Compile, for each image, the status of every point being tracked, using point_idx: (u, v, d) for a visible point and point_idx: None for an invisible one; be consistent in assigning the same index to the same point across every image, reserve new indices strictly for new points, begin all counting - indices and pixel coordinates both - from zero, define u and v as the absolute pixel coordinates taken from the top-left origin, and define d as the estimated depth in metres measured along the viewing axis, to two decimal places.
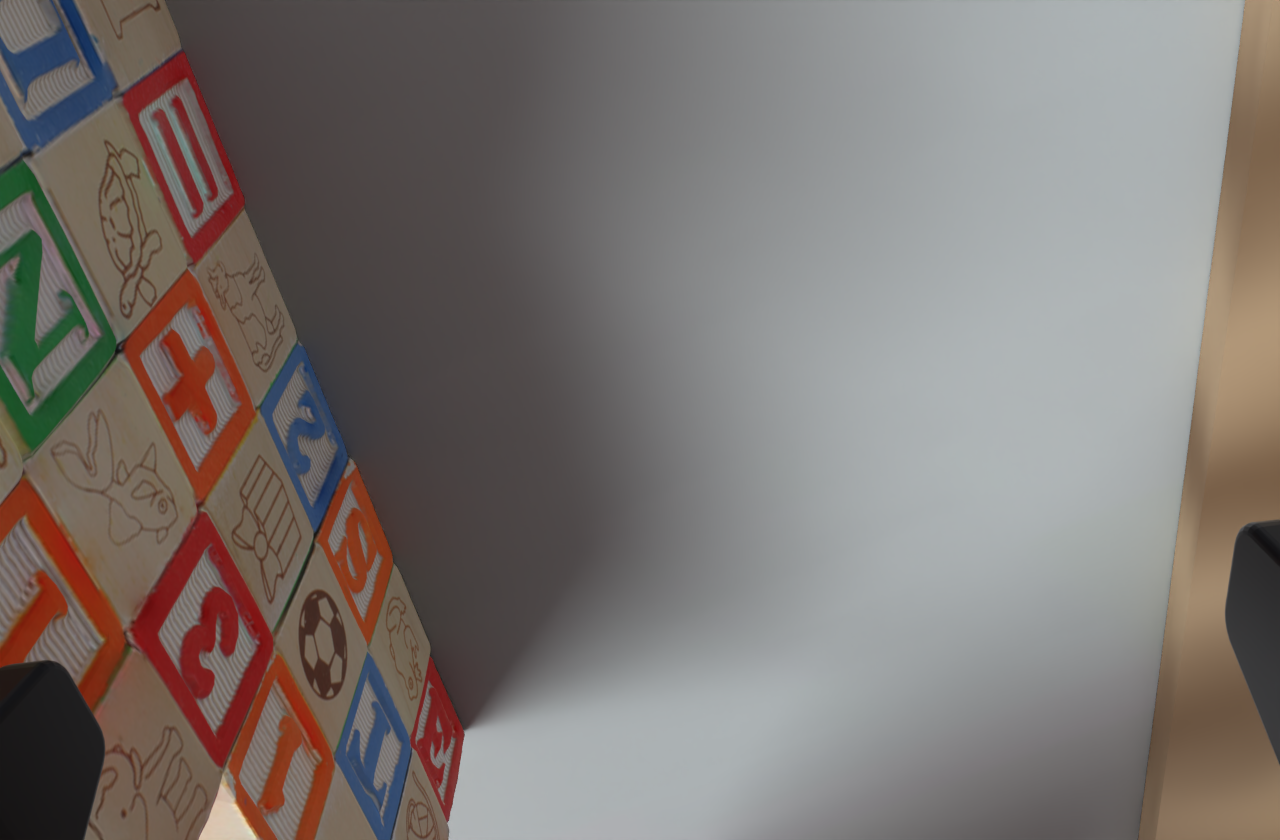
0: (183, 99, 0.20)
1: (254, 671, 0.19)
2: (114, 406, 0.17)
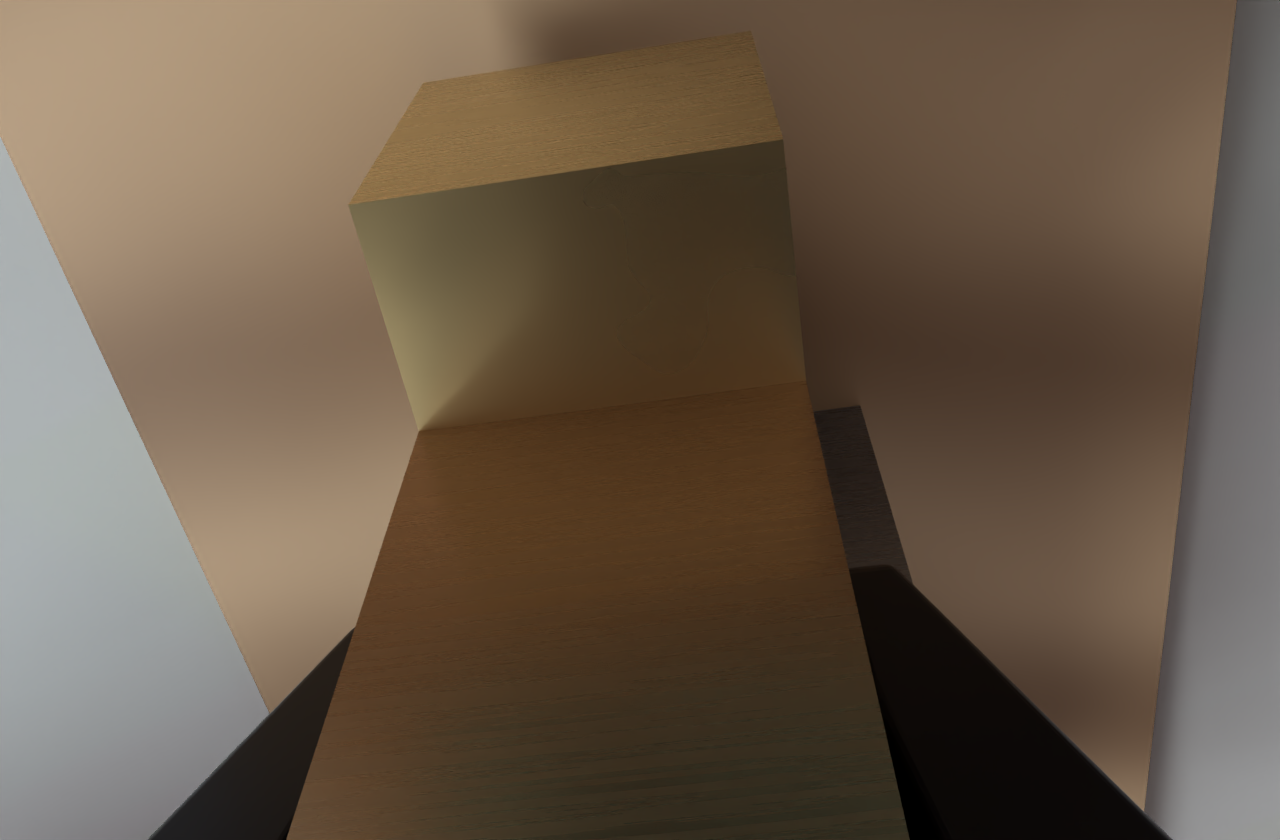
0: None
1: None
2: None
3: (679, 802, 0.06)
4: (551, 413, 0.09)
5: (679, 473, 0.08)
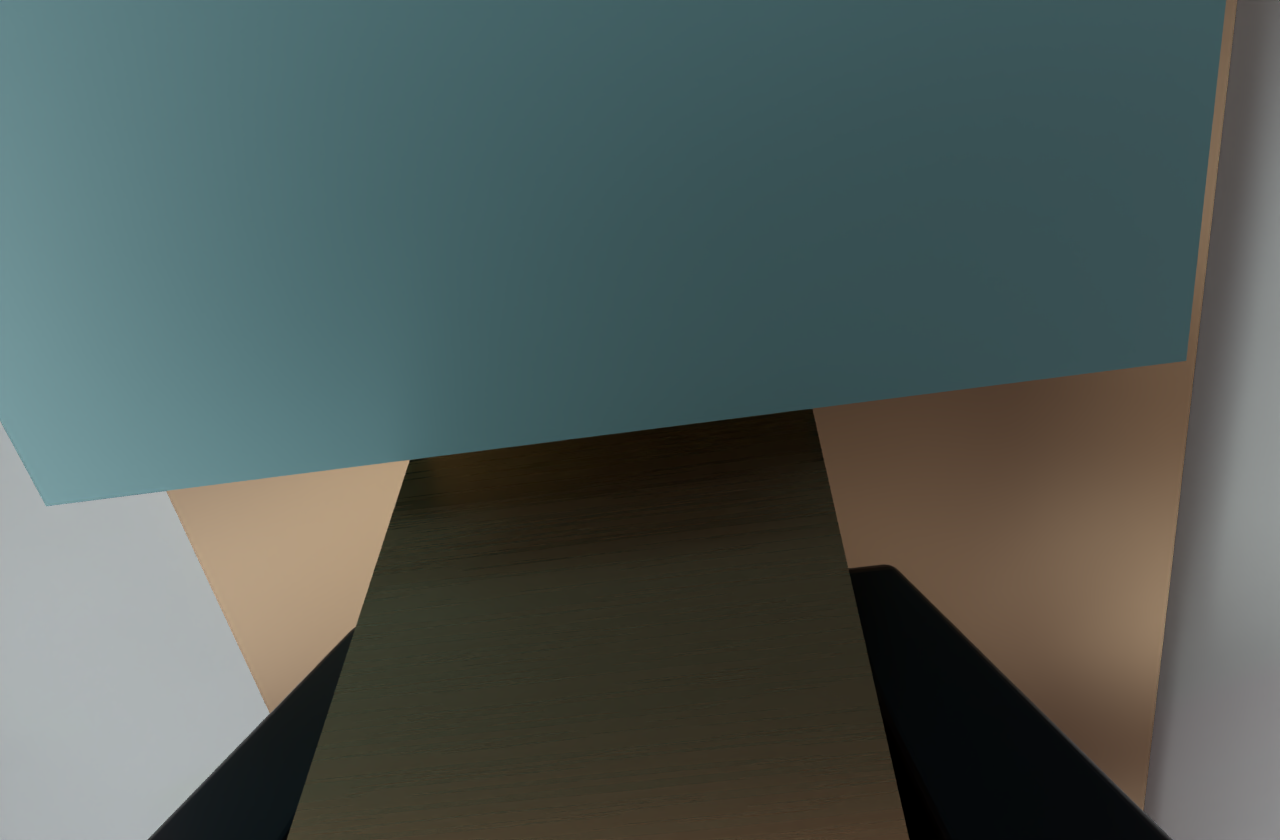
0: None
1: None
2: None
3: (678, 802, 0.06)
4: None
5: (679, 473, 0.08)
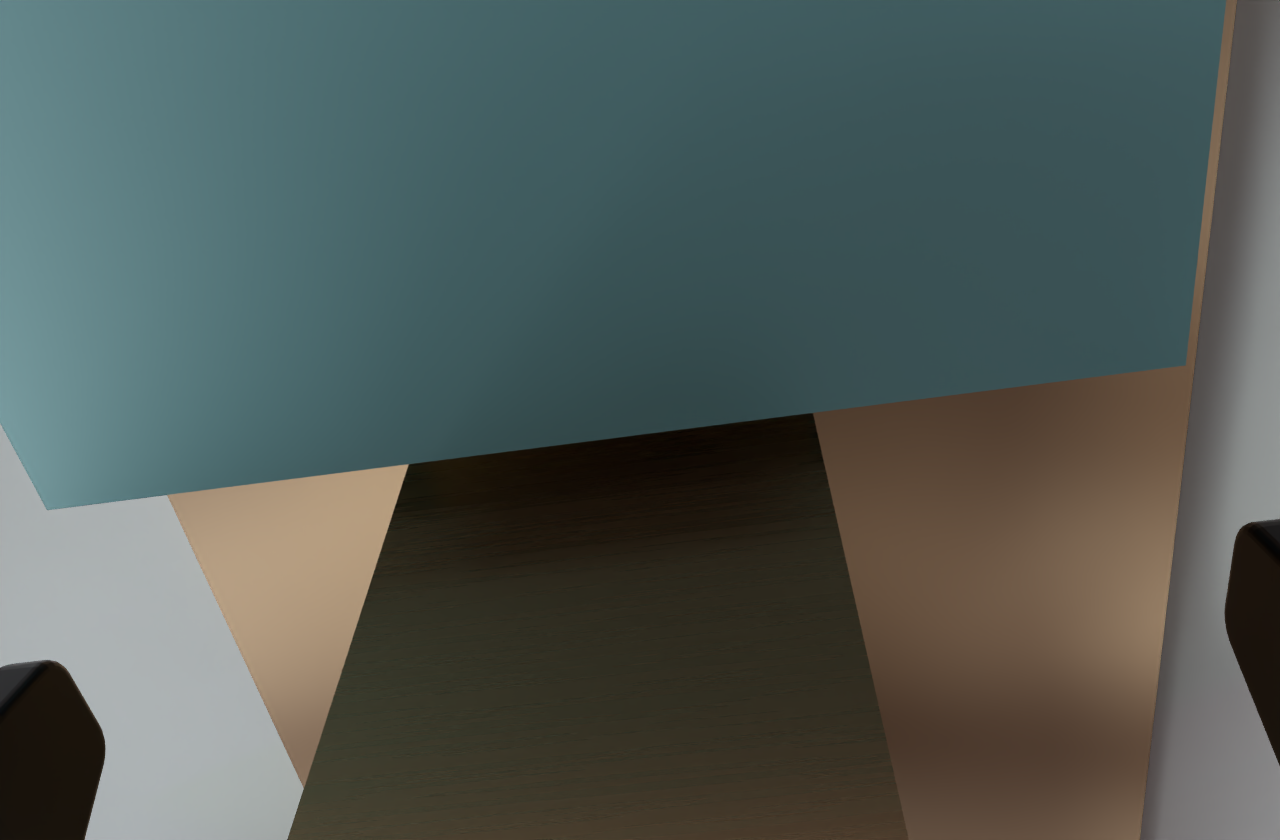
0: None
1: None
2: None
3: (677, 804, 0.06)
4: None
5: (681, 476, 0.08)
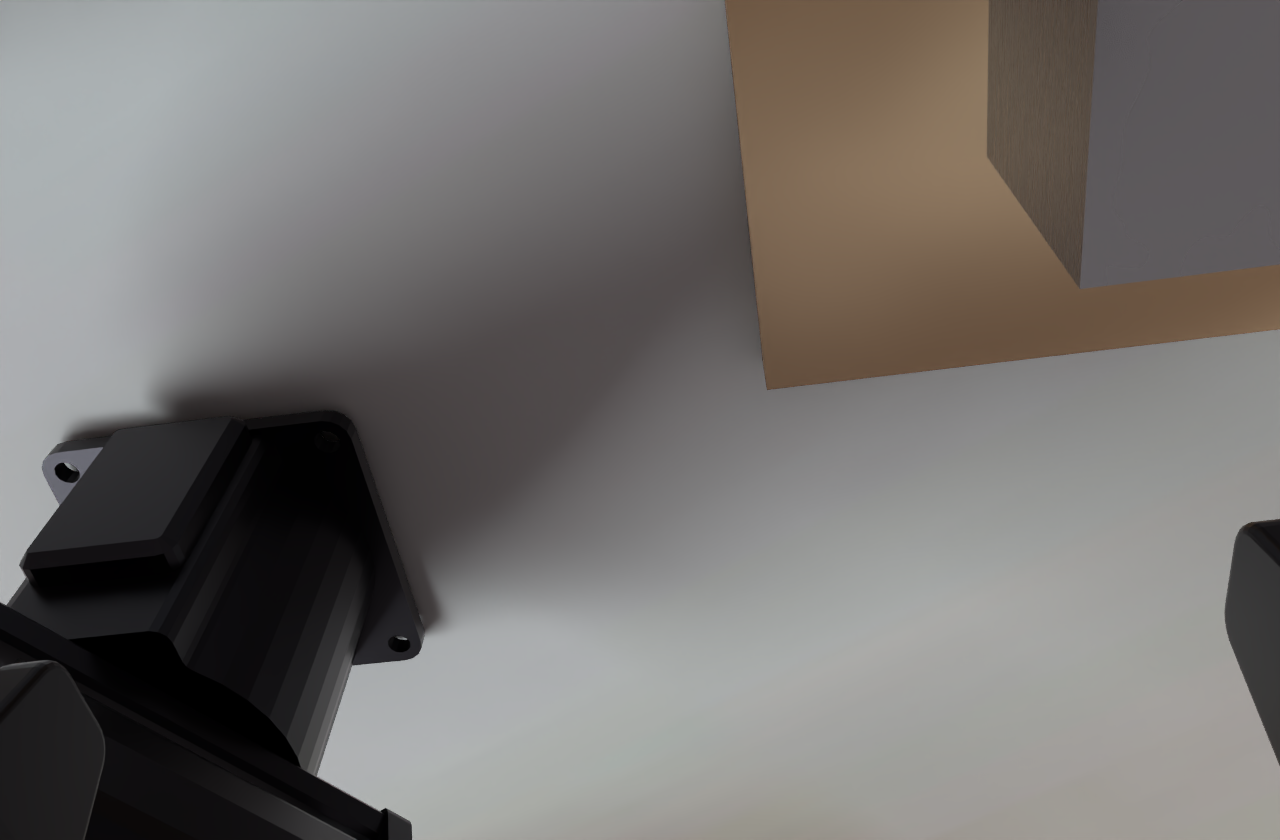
0: None
1: None
2: None
3: None
4: None
5: None
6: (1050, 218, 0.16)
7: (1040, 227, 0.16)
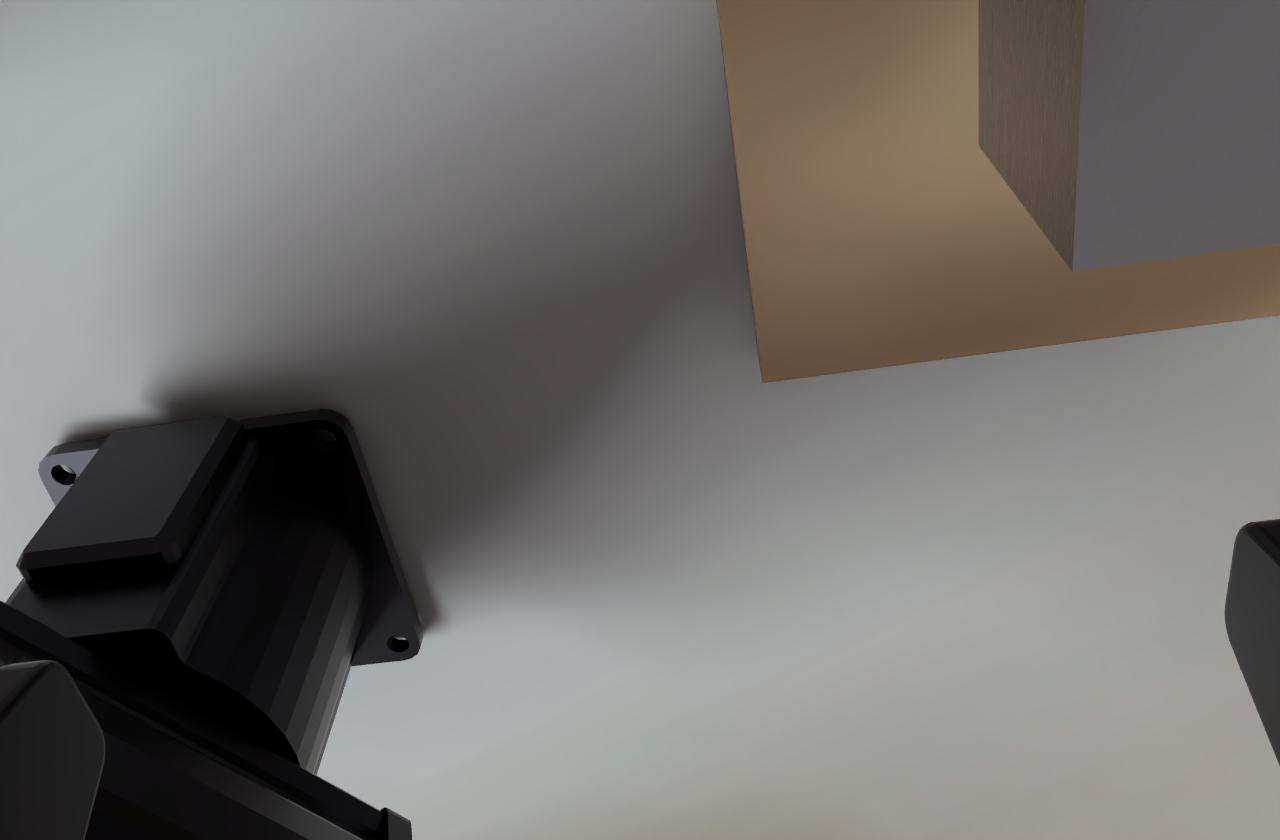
0: None
1: None
2: None
3: None
4: None
5: None
6: (1042, 203, 0.16)
7: (1032, 213, 0.16)
